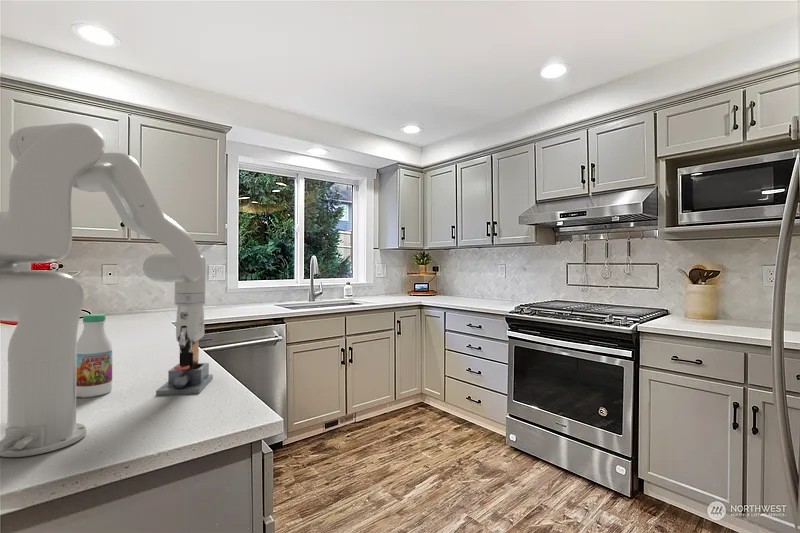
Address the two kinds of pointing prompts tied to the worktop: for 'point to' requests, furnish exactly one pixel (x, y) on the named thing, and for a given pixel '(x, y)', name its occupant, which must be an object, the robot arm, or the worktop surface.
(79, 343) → the milk bottle
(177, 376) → the block
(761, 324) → the worktop surface
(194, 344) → the pipe stub
